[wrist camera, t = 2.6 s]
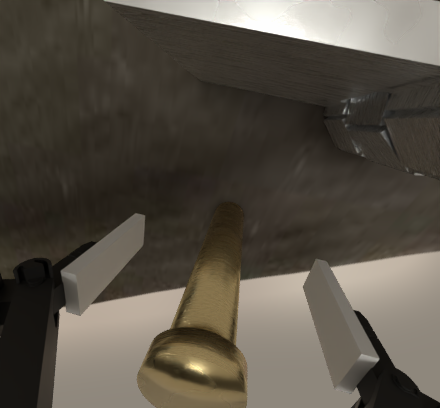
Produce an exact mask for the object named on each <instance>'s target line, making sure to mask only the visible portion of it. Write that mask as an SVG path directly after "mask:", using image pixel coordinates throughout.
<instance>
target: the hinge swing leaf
mask: <svg viewBox="0 0 440 408" xmlns="http://www.w3.org/2000/svg"><path fill="white" fill-rule="evenodd" d="M391 95H392V94H391V93H386V92H381V91H380V92H375V93H371V94H367V95H363V96H359V97H354V98H351V100H350V104H349V109H348V113H347V117H346V121H345V124H349V125H352V126H350V127H349V128H348V129H347V130H346V131H347V132H348V134H349V135H350V137H351V138H352V139H353V141H354V142H355V143H356V145H357V146H358V147H359V149H360V150H361V151H362V153H363V154H364V156H365V157H366V158H367V159H369V160H372V162H375V163H378V164H382V165H385V166H388V167H391V168H394V169H397V170H400V171H403V172H407V173H410V174H413V175H421V174H418V173H415V172H412V171H408V169H409V168H408V167H404V166H402V165H401V162H400V159H399V157H398V154H397V152H396V149H395V147H394V144H393V142H392V139H391V137H390V134H389V131H388V129H387V126H386V124H385V121H384V118H386V117H388V116H390V115H391V114H393V113H395V112H391V111H386V110H385V107H386V105H387V103H388V101H389V99H390V97H391Z"/></svg>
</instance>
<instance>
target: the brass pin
mask: <svg viewBox="0 0 440 408" xmlns="http://www.w3.org/2000/svg"><path fill="white" fill-rule="evenodd" d="M243 220H244V213H243V210H242V209H241V207H240V206H239V205H237V204H235V203H233V202H225V203H222V204H220V205H219V206H218V207H217V209H216V211H215V213H214V216H213V219H212V221H211V224H210V226H209V229H208V232H207V234H206V237H205V239H204V242H203V245H202V247H201V250H200V252H199V255H198V258H197V260H196V263H195V265H194V268H193V271H192V273H191V276H190V278H189V281H188V284H187V286H186V289H185V292H184V294H183V297H182V299H181V302H180V304H179V307H178V310H177V312H176V315H175V317H174V320H173V323H172V325H171V328H170V329H169V330H167V331H164V332H162V333H160V334H159V335H157V336H156V337H155V338H154V340H153V341H152V343H151V345H150V348H149V350H148V352H147V354H146V356H145V359H144V361H143V363H142V366H141V368H140V370H139V372H138V375H137V383H138V387H139V389H140V391H141V393H142V394H143V395H144V397H145V398H146V399H147V400H148V401H149V402H150V403H151V404H152V405H154V406H155V407H156V408H246V406H247V363H246V360H245V357H244V356H243V354H242V353H241V351H240V350H239V349H238V348H237V347H236V334H237V318H238V301H239V286H240V285H239V284H240V269H241V253H242V236H243Z"/></svg>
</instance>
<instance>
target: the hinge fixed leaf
mask: <svg viewBox="0 0 440 408" xmlns="http://www.w3.org/2000/svg"><path fill="white" fill-rule="evenodd" d="M104 1H105V2H106V3H107V4H108V5H110V6H111V7H112V8H113V9H114V10H116V11H117V12H118V13H119V14H120V15H122V16H123V17H124V18H125V19H126V20H128V21H129V22H130V23H131V24H132V25H134V26H135V27H136V28H137V29H138V30H140V31H141V32H142V33H143V34H144V35H146V36H147V37H148V38H149V39H150V40H152V41H153V42H154V43H155V44H156V45H158V46H159V47H160V48H161V49H162V50H164V51H165V52H166V53H167V54H168V55H170V56H171V57H172V58H173V59H174V60H176V61H177V62H178V63H179V64H180V65H182V66H183V67H184V68H185V69H186V70H188V71H189V72H190V73H191V74H192V75H194V76H195V77H196V78H197V79H198V80H200V81H204V82H209V83H214V84H219V85H223V86H228V87H233V88H238V89H243V90H247V91H252V92H257V93H262V94H267V95H271V96H276V97H281V98H286V99H291V100H295V101H300V102H305V103H310V104H315V105H319V106H324V107H326V109H325V111H324V114H323V116H327V117H328V118H326V119H324V120H323V121H324V124H325V126H326V128H327V130H328V132H329V134H330V136H331V138H332V140H333V143H334V145H335V147H338V148H339V150H343V151H346V152H349V153H352V154H356V155H359V156H363V157H365V156H364V154H363V153H362V151H361V150H360V149H359V147H358V146H357V145H356V143H355V142H354V141H353V139H352V138H351V137H350V135H349V134H348V132H347V131H346V130H347V129H348V128H349V127H350V126H352V125H349V124H345V121H346V117H347V113H348V109H349V104H350V100H351V98H354V97H359V96H363V95H367V94H371V93H375V92H380V91H381V92H386V93H391V94H392V95H391V97H390V99H389V101H388V103H387V105H386V107H385V110H386V111H391V112H395V113H393V114H391V115H390V116H388V117H386V118H384V121H385V124H386V126H387V129H388V131H389V134H390V137H391V139H392V142H393V144H394V147H395V149H396V152H397V154H398V157H399V159H400V162H401V165H402V166H404V167H408V168H409V169H408V171H412V172H415V173H418V174H421V175H425V176H428V177H431V178H435V179H438V180H440V2H439V1H433V0H104Z"/></svg>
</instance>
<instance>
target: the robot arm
mask: <svg viewBox="0 0 440 408" xmlns="http://www.w3.org/2000/svg"><path fill="white" fill-rule="evenodd" d="M144 226H145V215H141V214H137V213H135V214H134V215H133V216H131V217H130V218H129V219H127V220H126V221H125V222H124V223H122V224H121V225H120V226H118V227H117V228H116V229H114V230H113V231H112V232H111V233H109V234H108V235H107V236H105V237H104V238H103V239H102V240H100V241H99V242H98V243H96V242H92V241H91V242H89V243H86V244H84V245H82V246H80V247H79V248H78V249H76V250H75V251H73V252H72V253H71V254H69V256H66V257H65V258H64V259H62V260H61V261H59V262H58V263H57V264H55V265H54V266H52V264H51V261H50V260H49V259H46V258H34V259H30V260H27V261H24V262H22V263H20V264H19V265H17V266H16V267H15V268H14V270H13V273H14V277H15V279H2V277H1V274H0V408H52V400H53V388H54V376H55V364H56V352H57V339H58V327H59V310H60V309H61V308H62V307H63V306H64V305H65V304H66V311H67V312H69V313H72V314H76V315H79V316H81V314H82V313H83V312H84V311H85V310H86V309H87V308H88V307H89V305H90V304H91V303H92V302H93V301H94V300H95V299H96V298H97V297H98V295H99V294H100V293H101V292H102V291H103V290H104V289H105V288H106V286H107V285H108V284H109V283H110V282H111V281H112V280H113V279H114V278H115V276H116V275H117V274H118V273H119V272H120V271H121V270H122V269H123V267H124V266H125V265H126V264H127V263H128V262H129V261H130V260H131V258H132V257H133V256H134V255H135V254H136V253H137V252H138V251H139V250H140V248H141V247H142V246H143V243H144ZM303 289H304V292H305V295H306V299H307V302H308V305H309V308H310V311H311V315H312V318H313V321H314V324H315V328H316V330H317V334H318V337H319V340H320V343H321V347H322V350H323V353H324V356H325V359H326V363H327V366H328V369H329V372H330V375H331V379H332V382H333V385H334V388H335V390H339V391H342V392H346V393H349V394H351V393H352V392H353V391H354V389H355V388H356V387H357V388H358V391H359V393H360V396H361V397H360V398H359V400H358V401H357V402H356V403H355V404H354V405H353V406H352V407H351V408H440V403H439V402H438V401H436V400H434V399H432V398H430V397H429V396H427V395H425V394H423V393H422V392H420V390H419V389H418V387H417V386H416V384H415V383H414V382H413V381H412V380H411V379H410V378H409V377H408V376H407V375H406V374H405V373H403V372H402V371H400V370H399V369H396V368H395V366H394V365H393V363H392V361H391V359H390V358H389V356H388V354H387V353H386V351H385V349H384V348H383V346H382V344H381V342H380V341H379V339H377V336H376V334H375V332H374V331H373V329H372V327H371V326H370V324H369V322H368V320H367V319H366V318H365V317H364V316H363V315H362V314H361V313H360V312H359V311H355V310H353V309H352V307H351V305H350V303H349V301H348V300H347V298H346V296H345V294H344V292H343V290H342V288H341V287H340V285H339V283H338V281H337V279H336V277H335V276H334V274H333V272H332V270H331V268H330V266H329V265H328V263H327V261H323V260H319V259H316V260H315V262H314V264H313V267H312V269H311V271H310V273H309V275H308V277H307V279H306V281H305V283H304V286H303Z"/></svg>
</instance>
